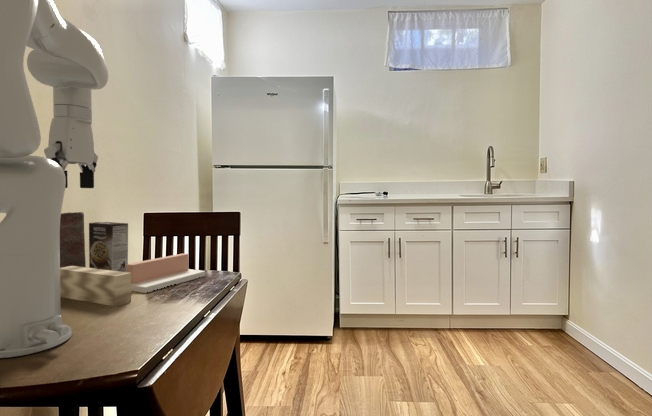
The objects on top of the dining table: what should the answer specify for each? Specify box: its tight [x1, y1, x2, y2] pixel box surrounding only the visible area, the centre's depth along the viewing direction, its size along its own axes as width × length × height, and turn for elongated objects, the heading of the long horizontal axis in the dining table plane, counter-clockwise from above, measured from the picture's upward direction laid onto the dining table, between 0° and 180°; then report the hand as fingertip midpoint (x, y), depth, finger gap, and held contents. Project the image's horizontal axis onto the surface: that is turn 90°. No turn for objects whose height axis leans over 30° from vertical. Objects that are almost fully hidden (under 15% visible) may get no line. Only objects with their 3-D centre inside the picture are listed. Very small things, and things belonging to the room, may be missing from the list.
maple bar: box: [60, 266, 132, 307], centre depth 89 cm, size 20×4×7 cm, turn 69°
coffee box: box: [88, 221, 129, 272], centre depth 114 cm, size 9×6×16 cm
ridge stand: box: [126, 253, 206, 294], centre depth 107 cm, size 14×22×6 cm, turn 157°
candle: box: [60, 211, 87, 268], centre depth 101 cm, size 8×7×20 cm
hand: (74, 188), depth 89 cm, fingers open, 9 cm apart
